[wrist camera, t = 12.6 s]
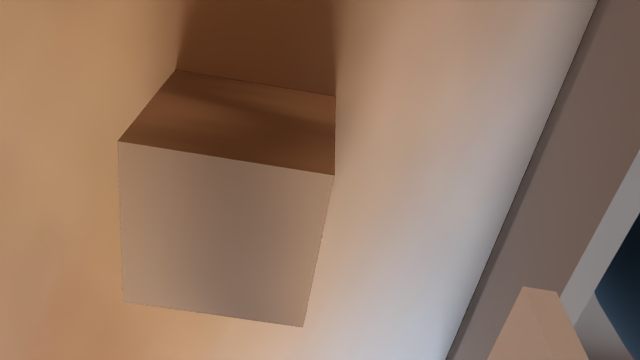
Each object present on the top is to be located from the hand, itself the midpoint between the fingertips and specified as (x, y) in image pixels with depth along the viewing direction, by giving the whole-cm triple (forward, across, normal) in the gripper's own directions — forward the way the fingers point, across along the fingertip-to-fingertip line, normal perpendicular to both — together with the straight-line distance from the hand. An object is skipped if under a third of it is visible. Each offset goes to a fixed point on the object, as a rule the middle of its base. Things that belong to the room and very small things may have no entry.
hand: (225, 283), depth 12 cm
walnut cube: (+7, 0, 0) cm, 7 cm away
